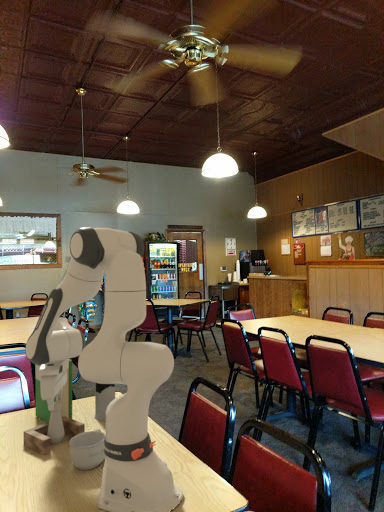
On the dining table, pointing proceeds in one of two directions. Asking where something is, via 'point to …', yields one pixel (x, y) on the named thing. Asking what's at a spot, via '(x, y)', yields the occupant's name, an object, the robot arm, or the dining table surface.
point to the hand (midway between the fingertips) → (55, 404)
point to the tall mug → (103, 399)
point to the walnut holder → (42, 443)
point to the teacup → (87, 449)
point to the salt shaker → (56, 424)
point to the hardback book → (66, 399)
